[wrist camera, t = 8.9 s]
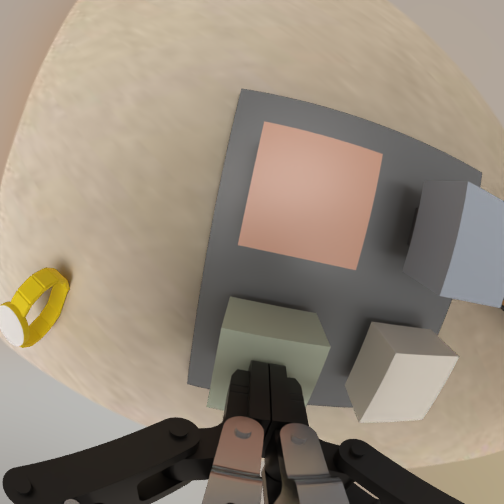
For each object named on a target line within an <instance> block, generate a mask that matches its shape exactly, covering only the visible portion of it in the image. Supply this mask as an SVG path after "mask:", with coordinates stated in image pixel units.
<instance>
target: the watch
mask: <svg viewBox="0 0 504 504" xmlns="http://www.w3.org/2000/svg"><path fill="white" fill-rule="evenodd" d="M52 286H53V287H52ZM51 287H52V290H51V293H50V297H49V300H48V303H47V304H46V306H45V307H44V309H43V310H42V312H41V313H40V316H38V317H37V318H36V319H35V320H34V321H33V322H32V323H31V324H30V326H28V323H27V320H26V318H25V317H26V315H27V314H28V312H29V310H30V308H31V306H32V305H33V304H34V303H35V302H36V300H37V299H38V298H39V297H40V296H41V295H42V294H43V293H44V292H45V291H46V290H48V289H49V288H51ZM68 290H70V286H69V284H68V281H67V279H66V278H64V277H63V276H62V275H61V274H60V273H59V272H58V271H57V270H56V269H54V268H43V269H42V270H40V271H38V272H36V273H34V274H32V276H30V277H29V278H28V279H27V280H26V281H25V282H24V283H23V284H22V285H21V286H20V287H19V288H18V291H16V293H15V295H14V296H13V298H12V300H11V302H5V303H3V304H2V305H0V329H1V331H2V333H3V335H4V336H5V338H6V339H7V340H8V341H9V342H10V343H11V344H12V345H14V346H18V347H22V348H24V347H30V346H32V345H34V344H35V343H36V342H38V341H39V340H41V338H43V337H44V335H45V334H46V333H47V332H48V331H49V330H50V329H51V327H52V326H53V325H54V323H55V322H56V320H57V319H58V317H59V316H60V313H61V310H62V307H63V304H64V301H65V298H66V295H67V293H68Z"/></svg>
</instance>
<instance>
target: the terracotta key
mask: <svg viewBox="0 0 504 504" xmlns="http://www.w3.org/2000/svg"><path fill="white" fill-rule="evenodd" d="M382 156H383V154H381V153H378V152H375V151H372V150H369V149H366V148H363V147H360V146H357V145H354V144H351V143H348V142H344V141H341V140H338V139H334V138H331V137H327V136H324V135H320V134H316V133H312V132H309V131H305V130H301V129H297V128H292V127H288V126H284V125H279V124H275V123H270V122H265V121H264V125H263V129H262V134H261V138H260V143H259V147H258V152H257V156H256V161H255V166H254V170H253V175H252V180H251V184H250V189H249V194H248V198H247V203H246V208H245V213H244V217H243V222H242V227H241V232H240V237H239V242H238V245H240V246H245V247H250V248H254V249H259V250H264V251H268V252H273V253H278V254H282V255H287V256H292V257H296V258H301V259H306V260H310V261H315V262H320V263H324V264H329V265H334V266H338V267H343V268H348V269H352V270H356V268H357V265H358V261H359V257H360V254H361V250H362V247H363V243H364V239H365V235H366V231H367V227H368V223H369V219H370V215H371V211H372V206H373V202H374V197H375V192H376V188H377V183H378V178H379V173H380V167H381V162H382Z"/></svg>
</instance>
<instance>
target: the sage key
mask: <svg viewBox="0 0 504 504" xmlns="http://www.w3.org/2000/svg"><path fill="white" fill-rule="evenodd" d="M330 348H331V346H330V344H329V342H328V339H327V337H326V334H325V332H324V330H323V327H322V325H321V323H320V320H319V318H318V316H317V313H313V312H307V311H301V310H296V309H291V308H285V307H280V306H275V305H270V304H265V303H260V302H255V301H250V300H245V299H240V298H236V297H231V296H230V298H229V302H228V306H227V309H226V313H225V316H224V320H223V324H222V327H221V332H220V337H219V343H218V348H217V353H216V359H215V364H214V369H213V375H212V380H211V386H210V391H209V397H208V402H207V407H209V408H214V409H219V410H224V409H225V402H226V397H227V393H228V388H229V384H230V380H231V375H232V374H233V373H234V372H235V371H236V370H237V369H240V370H246V371H248V369H249V366H250V362H251V360H253V361H259V362H265V363H268V364H269V363H271V364H278V365H284V366H286V371H287V377H290V378H296V380H297V381H298V382H299V384H300V385H301V387H302V392H303V398H304V403H305V408H306V406H307V403H308V401H309V399H310V397H311V394H312V392H313V390H314V387H315V385H316V383H317V380H318V378H319V375H320V373H321V371H322V368H323V366H324V363H325V361H326V358H327V356H328V353H329V350H330Z"/></svg>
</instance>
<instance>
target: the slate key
mask: <svg viewBox="0 0 504 504" xmlns="http://www.w3.org/2000/svg"><path fill="white" fill-rule="evenodd" d="M402 272H404V273H405V274H407V275H409V276H410V277H412V278H413V279H415V280H416V281H418V282H419V283H421V284H422V285H424V286H425V287H427V288H428V289H430V290H431V291H433V292H434V293H436V294H437V295H439V296H442V297H447V298H452V299H457V300H462V301H467V302H472V303H477V304H482V305H487V306H492V307H497V308H500V307H501V305H502V302H503V299H504V201H502V200H501V199H499V198H497V197H496V196H494V195H492V194H490V193H489V192H487V191H485V190H483V189H481V188H480V187H478V186H476V185H474V184H472V183H470V182H468V181H424V185H423V190H422V195H421V200H420V205H419V210H418V214H417V219H416V223H415V227H414V231H413V235H412V239H411V243H410V246H409V250H408V254H407V257H406V261H405V264H404V267H403V271H402Z"/></svg>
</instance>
